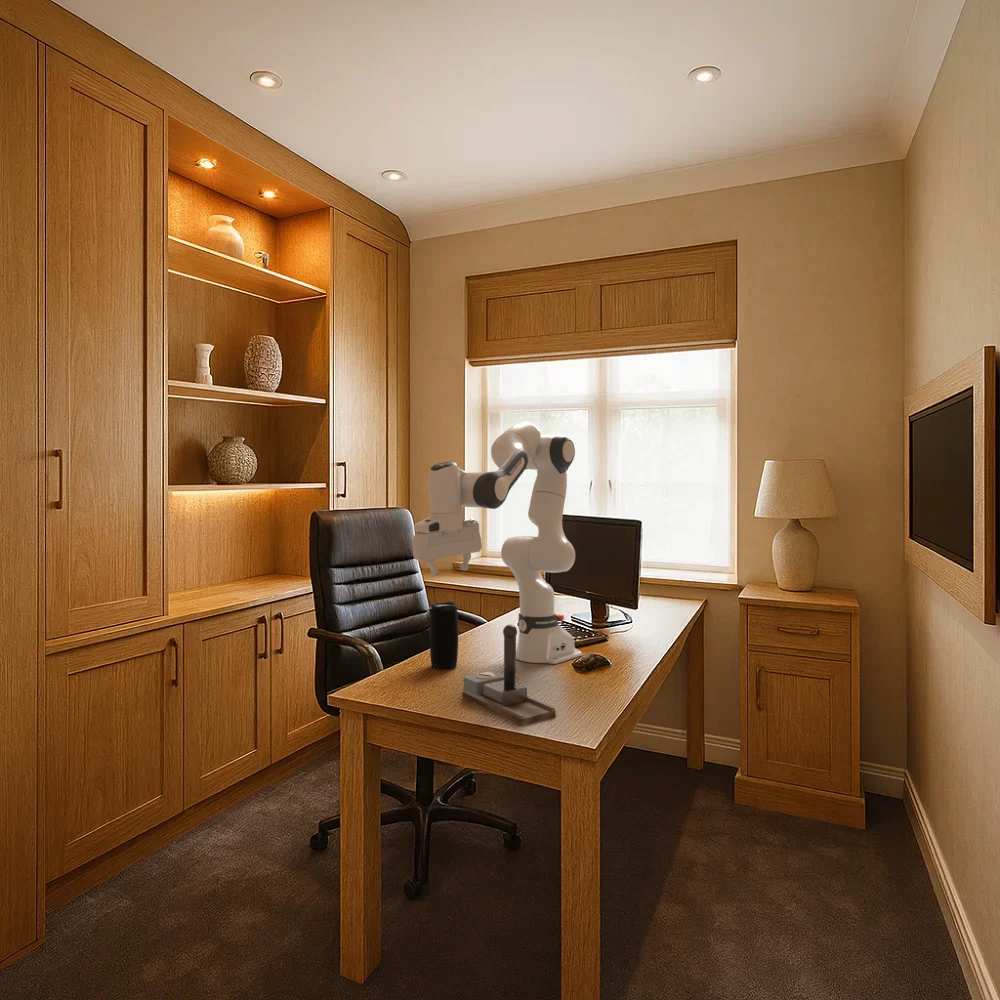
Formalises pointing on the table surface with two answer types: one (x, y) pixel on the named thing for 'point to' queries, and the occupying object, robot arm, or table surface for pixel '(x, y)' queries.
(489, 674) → the gauge cabinet
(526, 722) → the rail board
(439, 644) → the portable speaker
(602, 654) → the table surface
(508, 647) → the carriage
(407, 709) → the table surface
